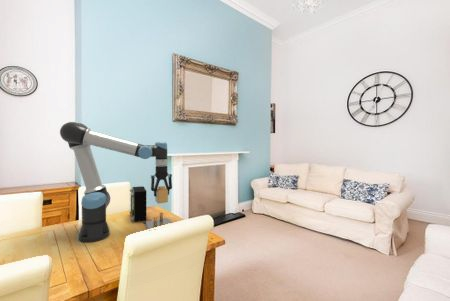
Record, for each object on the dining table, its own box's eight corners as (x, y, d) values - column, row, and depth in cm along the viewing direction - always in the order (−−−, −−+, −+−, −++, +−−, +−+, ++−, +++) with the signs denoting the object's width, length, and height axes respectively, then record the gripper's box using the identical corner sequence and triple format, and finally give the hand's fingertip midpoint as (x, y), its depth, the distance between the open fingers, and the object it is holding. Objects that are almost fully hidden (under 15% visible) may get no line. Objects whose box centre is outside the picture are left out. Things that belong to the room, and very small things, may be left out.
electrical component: (129, 214, 167) (129, 187, 166) (144, 213, 171) (144, 186, 170) (131, 222, 151) (131, 192, 150) (147, 220, 155) (147, 191, 154)
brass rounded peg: (160, 221, 152) (160, 213, 152) (159, 220, 154) (159, 212, 154) (163, 220, 153) (163, 213, 153) (162, 219, 155) (162, 212, 155)
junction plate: (149, 230, 138) (149, 229, 138) (143, 223, 150) (143, 222, 150) (174, 225, 147) (174, 224, 147) (167, 218, 159) (167, 217, 159)
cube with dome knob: (158, 203, 149) (158, 188, 148) (155, 201, 154) (155, 186, 153) (167, 202, 152) (167, 187, 152) (164, 200, 157) (164, 185, 157)
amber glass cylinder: (154, 226, 143) (154, 218, 143) (153, 225, 145) (153, 217, 144) (157, 225, 144) (157, 217, 144) (156, 224, 146) (156, 216, 146)
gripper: (148, 167, 144) (148, 203, 145) (177, 165, 154) (177, 199, 155) (145, 165, 150) (145, 201, 151) (173, 164, 160) (173, 197, 161)
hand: (161, 200), depth 153 cm, fingers closed on cube with dome knob, 6 cm apart
